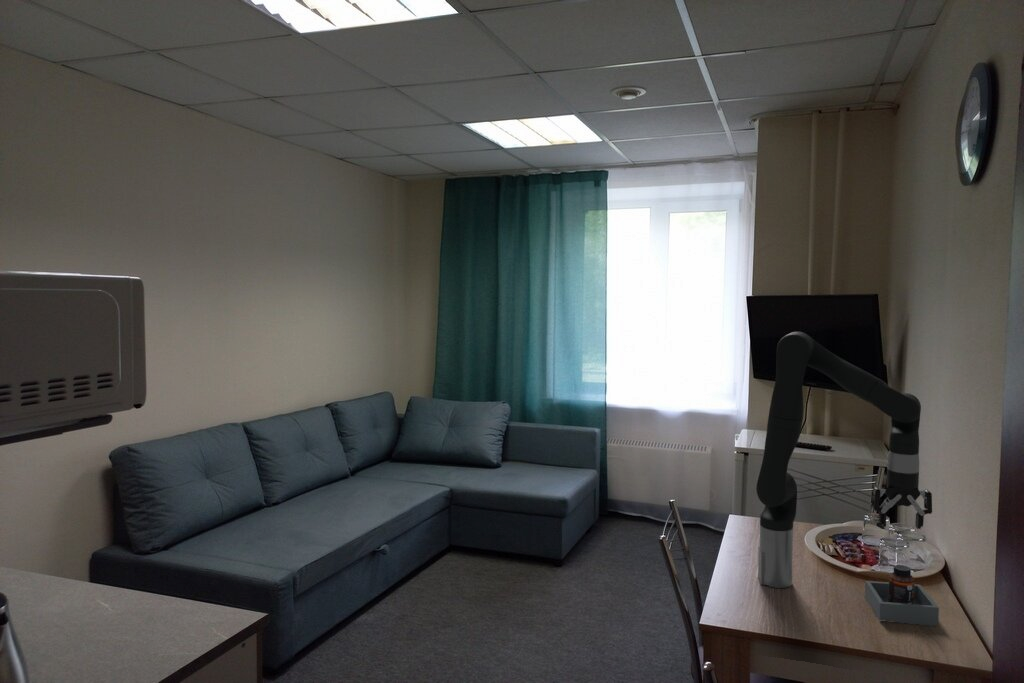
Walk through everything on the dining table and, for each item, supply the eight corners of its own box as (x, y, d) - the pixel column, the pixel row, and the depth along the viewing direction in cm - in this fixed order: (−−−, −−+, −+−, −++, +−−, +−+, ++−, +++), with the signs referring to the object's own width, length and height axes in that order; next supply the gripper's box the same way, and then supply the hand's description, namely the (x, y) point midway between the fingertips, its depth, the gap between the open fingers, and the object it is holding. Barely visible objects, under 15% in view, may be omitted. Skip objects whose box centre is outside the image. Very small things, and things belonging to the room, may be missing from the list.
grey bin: (879, 621, 186) (879, 603, 185) (864, 597, 199) (865, 580, 199) (938, 626, 183) (938, 607, 182) (919, 601, 196) (920, 584, 196)
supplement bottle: (916, 614, 187) (918, 572, 186) (892, 612, 189) (893, 571, 188) (909, 603, 193) (910, 563, 192) (885, 602, 194) (886, 562, 193)
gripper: (877, 470, 187) (875, 530, 189) (937, 473, 184) (934, 533, 186) (870, 463, 195) (868, 520, 196) (927, 465, 191) (925, 523, 193)
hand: (900, 526), depth 191 cm, fingers open, 8 cm apart
